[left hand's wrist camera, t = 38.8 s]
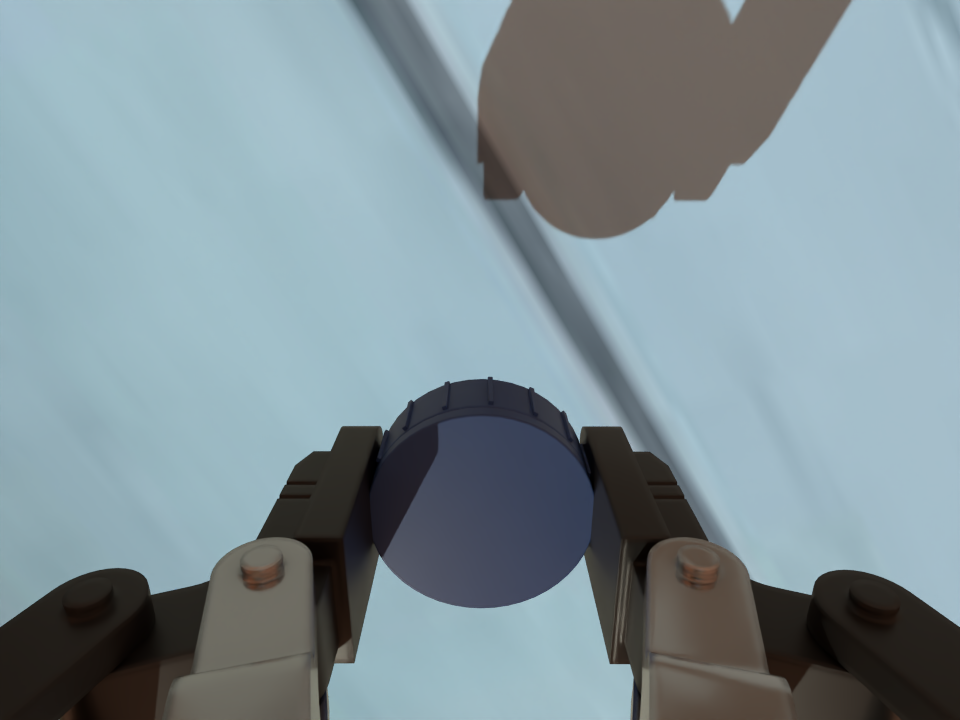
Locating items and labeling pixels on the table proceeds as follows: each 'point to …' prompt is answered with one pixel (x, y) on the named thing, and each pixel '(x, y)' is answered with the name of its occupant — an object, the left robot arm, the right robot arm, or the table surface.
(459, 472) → the cap
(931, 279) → the table surface
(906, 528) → the table surface
